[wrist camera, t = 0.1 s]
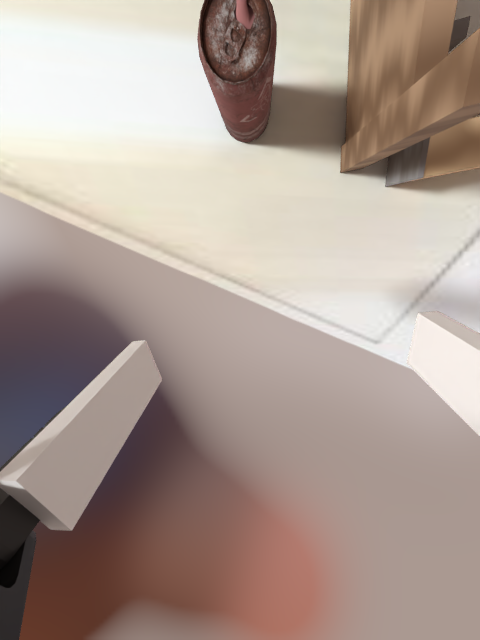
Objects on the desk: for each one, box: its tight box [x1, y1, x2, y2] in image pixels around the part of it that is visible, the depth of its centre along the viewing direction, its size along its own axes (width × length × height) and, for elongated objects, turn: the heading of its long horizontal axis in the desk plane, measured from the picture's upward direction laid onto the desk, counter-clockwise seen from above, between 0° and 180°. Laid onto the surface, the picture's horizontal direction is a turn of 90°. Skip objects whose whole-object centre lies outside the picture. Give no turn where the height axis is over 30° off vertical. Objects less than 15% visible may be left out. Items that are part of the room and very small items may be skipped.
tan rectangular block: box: [385, 116, 480, 187], centre depth 25 cm, size 5×13×7 cm, turn 100°
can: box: [198, 0, 276, 142], centre depth 21 cm, size 6×6×14 cm
